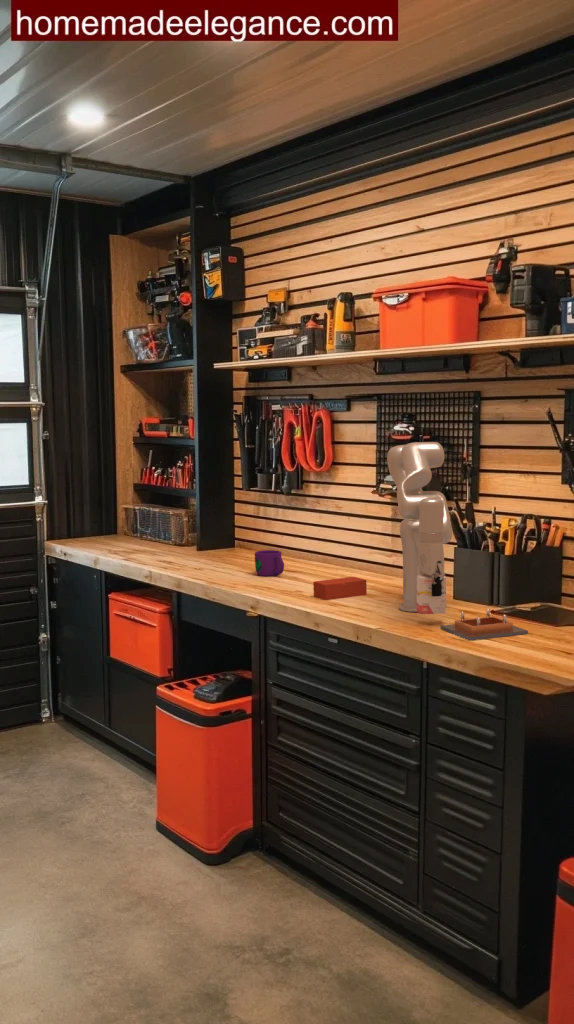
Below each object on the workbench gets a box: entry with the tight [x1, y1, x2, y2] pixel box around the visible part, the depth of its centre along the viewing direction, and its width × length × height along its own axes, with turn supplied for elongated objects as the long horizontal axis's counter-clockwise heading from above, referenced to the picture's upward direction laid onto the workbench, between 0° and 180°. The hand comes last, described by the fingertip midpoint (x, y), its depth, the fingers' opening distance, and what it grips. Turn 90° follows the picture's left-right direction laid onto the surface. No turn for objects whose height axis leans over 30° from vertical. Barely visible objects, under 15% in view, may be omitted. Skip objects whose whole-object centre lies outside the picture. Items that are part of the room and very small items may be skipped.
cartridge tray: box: [439, 608, 529, 641], centre depth 274 cm, size 17×20×6 cm
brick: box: [313, 576, 368, 601], centre depth 337 cm, size 18×9×6 cm, turn 119°
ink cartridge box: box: [417, 566, 447, 615], centre depth 286 cm, size 9×5×15 cm, turn 92°
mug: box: [254, 549, 285, 578], centre depth 385 cm, size 17×11×10 cm, turn 34°
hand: (431, 593), depth 286 cm, fingers closed on ink cartridge box, 6 cm apart
